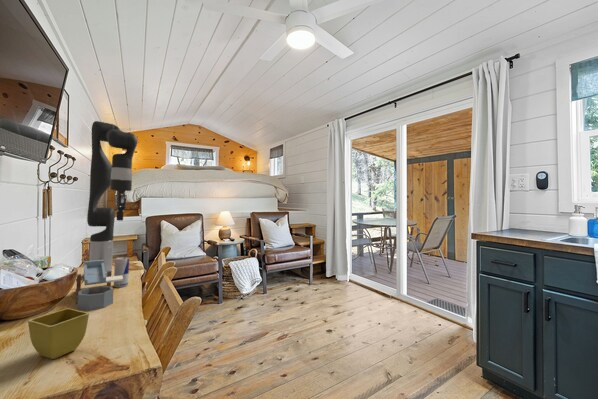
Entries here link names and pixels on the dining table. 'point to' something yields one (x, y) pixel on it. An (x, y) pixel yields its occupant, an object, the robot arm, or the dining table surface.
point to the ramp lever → (97, 273)
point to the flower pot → (58, 332)
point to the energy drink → (121, 271)
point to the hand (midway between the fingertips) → (119, 220)
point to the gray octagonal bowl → (95, 297)
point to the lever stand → (88, 287)
